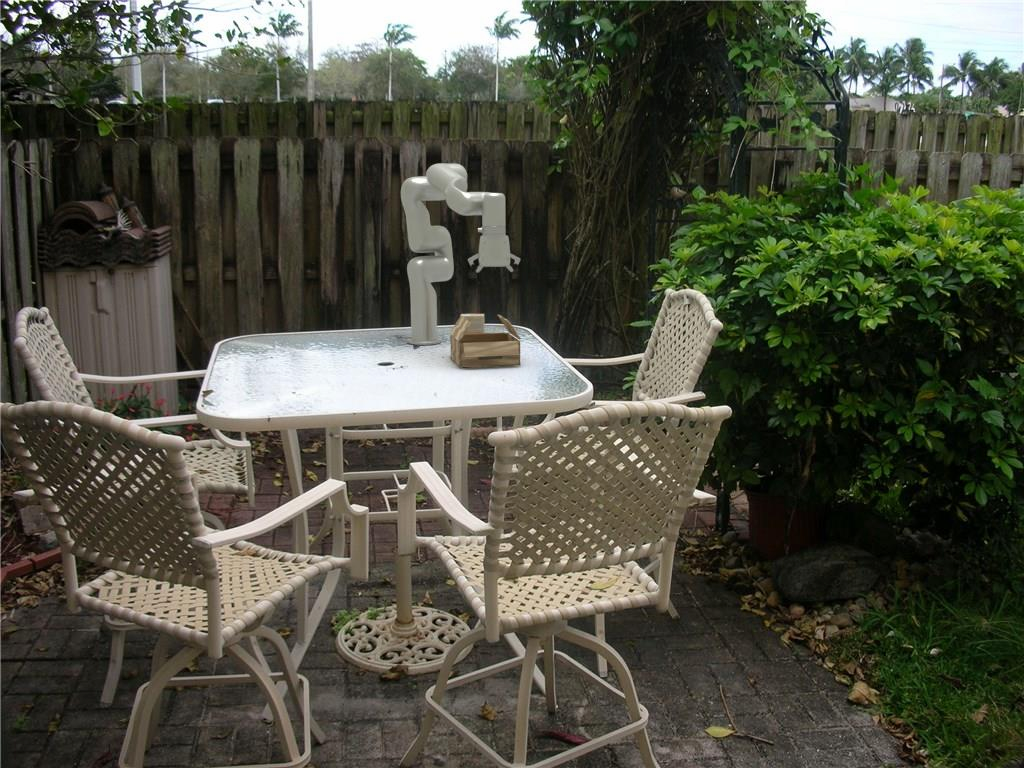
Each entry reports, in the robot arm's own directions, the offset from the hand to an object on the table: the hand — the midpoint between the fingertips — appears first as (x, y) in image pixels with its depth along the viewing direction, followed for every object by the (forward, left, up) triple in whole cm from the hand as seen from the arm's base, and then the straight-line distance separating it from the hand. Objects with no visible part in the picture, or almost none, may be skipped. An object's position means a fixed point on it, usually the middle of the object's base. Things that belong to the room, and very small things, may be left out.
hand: (494, 284), depth 318 cm
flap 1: (+1, -14, -17) cm, 22 cm away
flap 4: (+1, +7, -17) cm, 19 cm away
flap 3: (+10, -4, -17) cm, 20 cm away
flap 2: (-8, -4, -17) cm, 19 cm away
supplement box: (-19, -4, -26) cm, 32 cm away
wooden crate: (+1, -4, -26) cm, 26 cm away
